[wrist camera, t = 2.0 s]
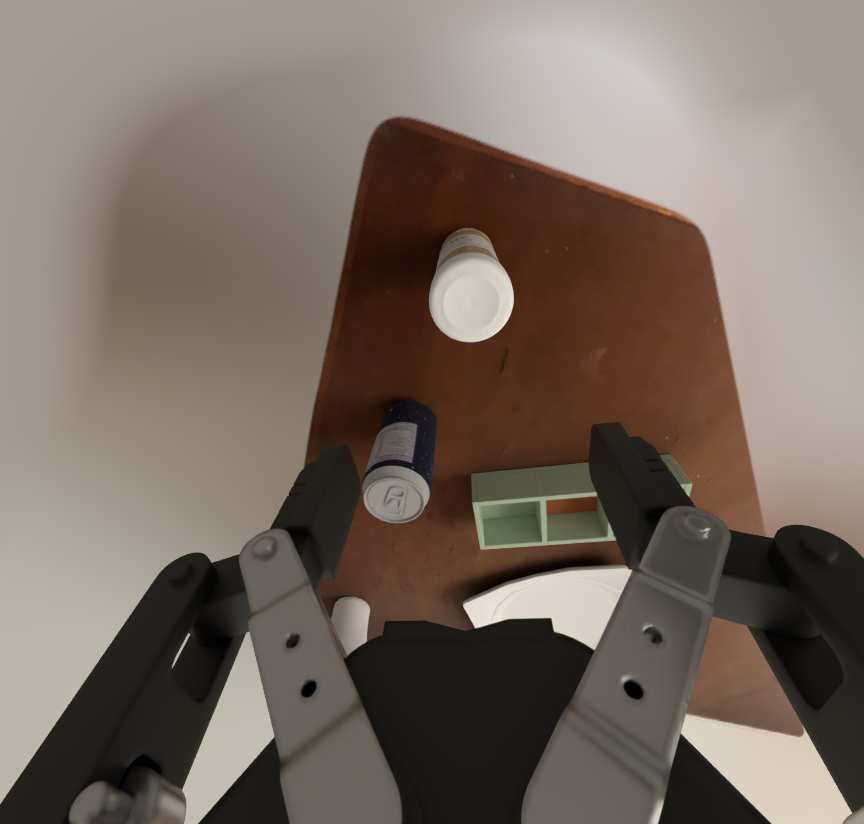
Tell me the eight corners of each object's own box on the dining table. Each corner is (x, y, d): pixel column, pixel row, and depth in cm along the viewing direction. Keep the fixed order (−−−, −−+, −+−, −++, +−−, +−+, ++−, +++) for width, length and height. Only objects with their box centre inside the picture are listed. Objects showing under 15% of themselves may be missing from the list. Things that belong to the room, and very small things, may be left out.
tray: (670, 453, 41) (692, 483, 37) (661, 504, 45) (680, 536, 41) (471, 473, 44) (472, 502, 40) (478, 519, 48) (480, 549, 44)
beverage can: (378, 432, 42) (352, 516, 32) (391, 389, 39) (366, 466, 29) (428, 446, 42) (418, 533, 32) (444, 405, 39) (439, 486, 29)
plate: (509, 665, 66) (511, 682, 64) (451, 583, 55) (451, 601, 53) (660, 640, 59) (668, 659, 57) (628, 541, 48) (637, 559, 46)
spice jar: (449, 292, 33) (444, 354, 22) (431, 238, 31) (415, 276, 20) (501, 274, 32) (523, 330, 21) (486, 217, 30) (502, 244, 19)
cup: (317, 612, 61) (295, 683, 53) (338, 582, 57) (317, 654, 48) (368, 629, 63) (354, 700, 55) (393, 602, 58) (381, 675, 50)
